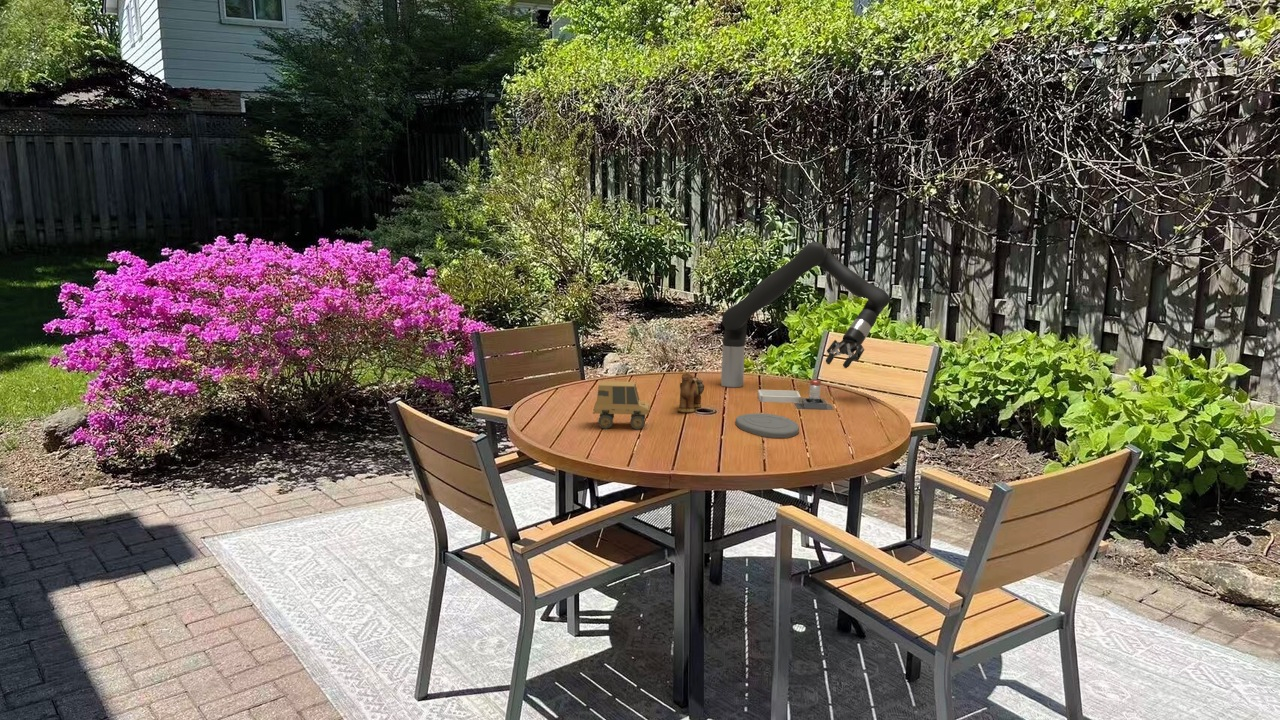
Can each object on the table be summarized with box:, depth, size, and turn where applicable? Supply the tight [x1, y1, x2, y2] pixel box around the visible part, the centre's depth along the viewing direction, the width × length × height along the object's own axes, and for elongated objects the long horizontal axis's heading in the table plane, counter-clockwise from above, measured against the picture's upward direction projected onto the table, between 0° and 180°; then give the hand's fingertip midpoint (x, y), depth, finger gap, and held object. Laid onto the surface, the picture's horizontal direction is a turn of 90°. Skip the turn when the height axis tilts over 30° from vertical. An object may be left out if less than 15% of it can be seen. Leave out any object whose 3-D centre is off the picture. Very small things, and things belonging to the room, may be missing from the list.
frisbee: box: [735, 412, 800, 439], centre depth 306 cm, size 20×27×3 cm
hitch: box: [793, 397, 835, 411], centre depth 334 cm, size 14×9×3 cm, turn 87°
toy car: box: [593, 380, 650, 431], centre depth 304 cm, size 10×19×15 cm, turn 89°
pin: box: [808, 379, 822, 403], centre depth 333 cm, size 4×4×10 cm
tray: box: [757, 389, 802, 404], centre depth 346 cm, size 16×12×3 cm
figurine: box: [677, 372, 705, 414], centre depth 327 cm, size 9×15×15 cm, turn 159°
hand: (835, 365), depth 338 cm, fingers open, 8 cm apart
